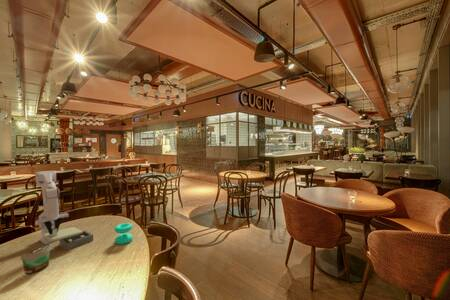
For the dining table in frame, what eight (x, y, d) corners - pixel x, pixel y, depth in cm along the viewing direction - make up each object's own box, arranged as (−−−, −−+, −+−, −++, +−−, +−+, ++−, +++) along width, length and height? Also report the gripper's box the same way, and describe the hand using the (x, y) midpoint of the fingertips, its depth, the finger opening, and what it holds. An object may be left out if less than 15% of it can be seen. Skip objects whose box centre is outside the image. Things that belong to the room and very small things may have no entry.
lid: (43, 237, 118) (44, 227, 118) (73, 229, 131) (74, 220, 131) (51, 242, 112) (52, 232, 112) (82, 234, 124) (83, 224, 124)
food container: (31, 278, 95) (30, 257, 94) (21, 276, 96) (20, 255, 95) (58, 262, 107) (57, 243, 106) (48, 260, 108) (47, 242, 107)
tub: (59, 244, 124) (59, 239, 124) (85, 235, 136) (85, 230, 136) (66, 250, 118) (66, 244, 118) (93, 240, 130) (93, 234, 130)
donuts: (110, 227, 125) (123, 221, 134) (111, 243, 125) (124, 236, 135) (123, 230, 122) (135, 223, 131) (123, 246, 122) (136, 238, 132)
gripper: (38, 214, 108) (39, 240, 109) (70, 207, 120) (71, 229, 121) (33, 212, 112) (34, 236, 113) (65, 205, 124) (66, 226, 125)
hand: (53, 232), depth 117 cm, fingers closed on lid, 2 cm apart
